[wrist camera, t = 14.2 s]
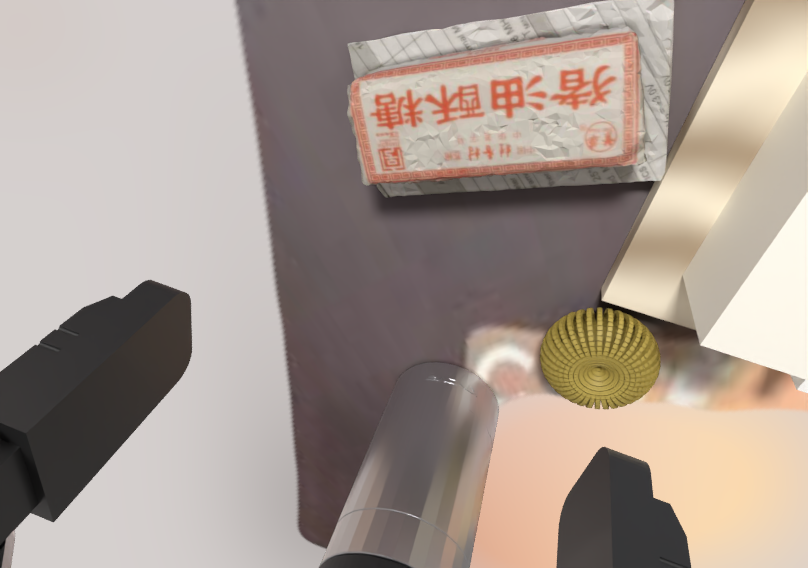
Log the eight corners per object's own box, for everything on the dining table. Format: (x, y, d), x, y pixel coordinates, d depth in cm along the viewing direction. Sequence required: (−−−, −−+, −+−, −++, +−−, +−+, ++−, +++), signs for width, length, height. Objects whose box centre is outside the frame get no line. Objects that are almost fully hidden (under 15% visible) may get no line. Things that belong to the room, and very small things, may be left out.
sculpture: (539, 415, 41) (536, 328, 37) (543, 378, 44) (540, 294, 40) (658, 426, 38) (669, 333, 34) (653, 386, 42) (662, 297, 38)
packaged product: (361, 220, 35) (322, 56, 31) (384, 190, 39) (352, 40, 34) (673, 205, 30) (687, -2, 25) (664, 171, 34) (674, -14, 29)
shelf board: (795, 348, 37) (802, 363, 36) (601, 288, 38) (601, 300, 37) (1080, 4, 24) (1106, 9, 23) (778, -65, 26) (787, -64, 25)
